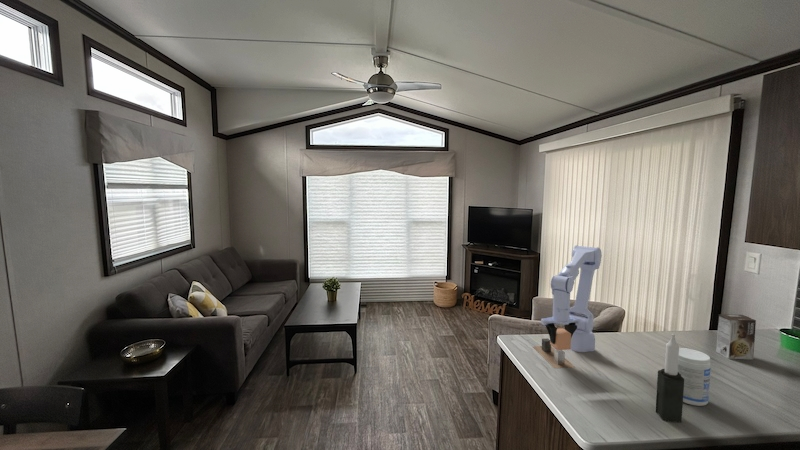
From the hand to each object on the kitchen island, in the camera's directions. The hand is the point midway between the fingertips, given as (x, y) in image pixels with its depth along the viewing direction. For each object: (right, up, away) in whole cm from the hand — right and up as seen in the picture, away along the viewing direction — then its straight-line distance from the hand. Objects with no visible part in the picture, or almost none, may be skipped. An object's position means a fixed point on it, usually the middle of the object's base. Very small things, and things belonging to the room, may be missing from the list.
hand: (560, 342), depth 129 cm
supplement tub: (+32, -11, -20) cm, 39 cm away
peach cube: (0, -2, 0) cm, 2 cm away
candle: (+18, -12, -29) cm, 36 cm away
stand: (0, -9, +6) cm, 11 cm away
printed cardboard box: (+74, -8, +8) cm, 75 cm away
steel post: (0, -8, +1) cm, 8 cm away
